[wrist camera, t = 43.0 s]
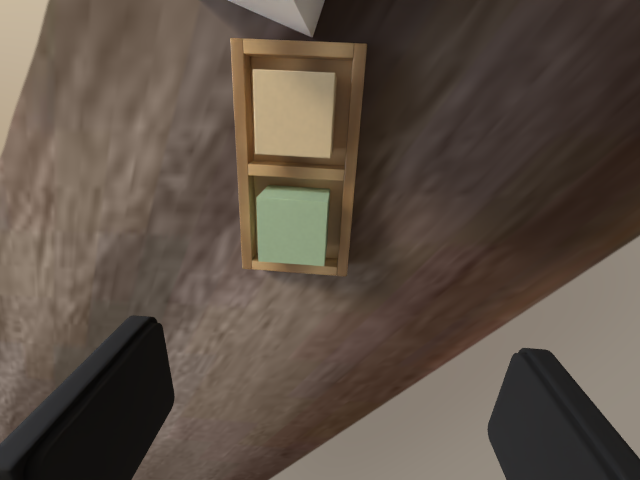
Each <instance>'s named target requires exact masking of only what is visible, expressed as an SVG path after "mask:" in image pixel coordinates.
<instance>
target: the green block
mask: <svg viewBox="0 0 640 480" xmlns="http://www.w3.org/2000/svg"><path fill="white" fill-rule="evenodd" d="M256 201H257V233H258V261H259V262H273V263H287V264H300V265H314V266H324V265H325V258H326V250H327V237H328V220H329V203H330V189H325V188H309V187H293V186H277V185H268V186H267V187H266V188H265V189H264V190H263V191H262V192H261V193H260V194H259V195H258V196H257V197H256Z"/></svg>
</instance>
